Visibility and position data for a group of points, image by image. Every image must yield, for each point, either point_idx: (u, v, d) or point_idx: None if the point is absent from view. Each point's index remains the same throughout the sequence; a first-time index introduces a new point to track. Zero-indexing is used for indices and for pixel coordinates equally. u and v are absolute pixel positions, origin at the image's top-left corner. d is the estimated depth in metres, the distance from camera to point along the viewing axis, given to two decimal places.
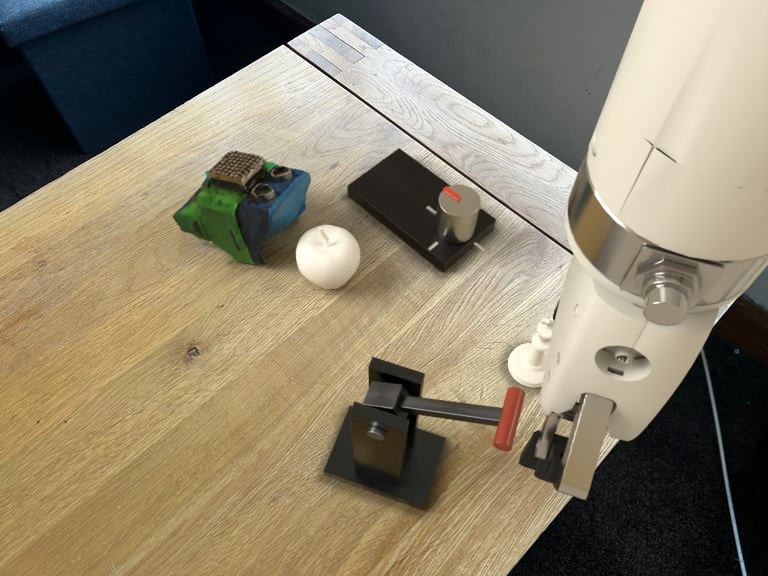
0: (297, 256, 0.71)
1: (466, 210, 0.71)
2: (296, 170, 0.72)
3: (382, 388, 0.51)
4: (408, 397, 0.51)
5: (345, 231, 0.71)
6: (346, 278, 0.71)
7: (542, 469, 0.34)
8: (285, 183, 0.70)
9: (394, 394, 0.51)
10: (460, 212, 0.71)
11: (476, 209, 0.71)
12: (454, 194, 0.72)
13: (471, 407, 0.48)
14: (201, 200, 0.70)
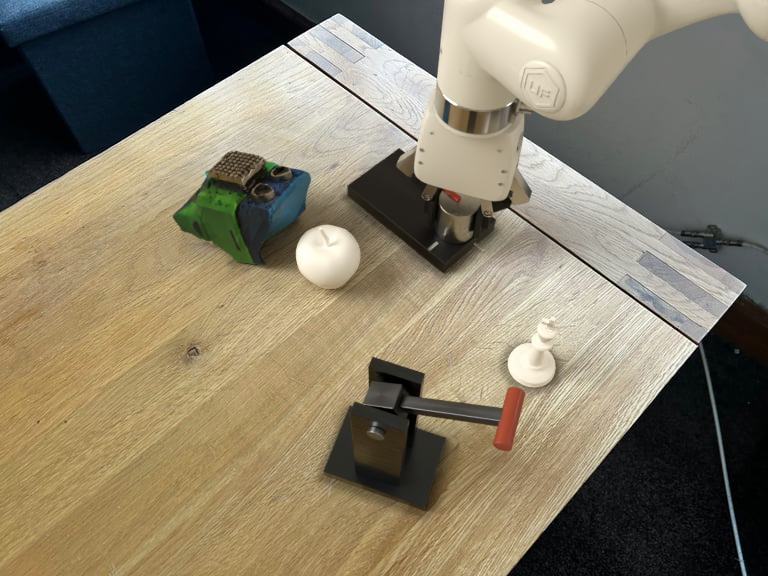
0: (297, 256, 0.71)
1: (466, 210, 0.71)
2: (296, 170, 0.72)
3: (382, 388, 0.51)
4: (408, 397, 0.51)
5: (345, 231, 0.71)
6: (346, 278, 0.71)
7: (489, 221, 0.72)
8: (285, 183, 0.70)
9: (394, 394, 0.51)
10: (460, 212, 0.71)
11: (476, 209, 0.71)
12: (454, 194, 0.72)
13: (471, 407, 0.48)
14: (201, 200, 0.70)
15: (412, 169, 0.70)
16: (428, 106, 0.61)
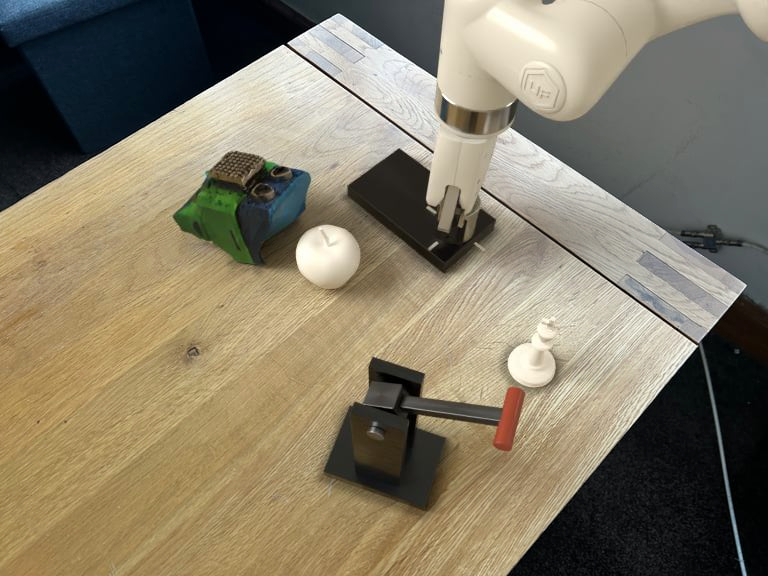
0: (297, 256, 0.71)
1: None
2: (296, 170, 0.72)
3: (382, 388, 0.51)
4: (408, 397, 0.51)
5: (345, 231, 0.71)
6: (346, 278, 0.71)
7: None
8: (285, 183, 0.70)
9: (394, 394, 0.51)
10: None
11: None
12: None
13: (471, 407, 0.48)
14: (201, 200, 0.70)
15: (453, 219, 0.66)
16: (473, 143, 0.59)
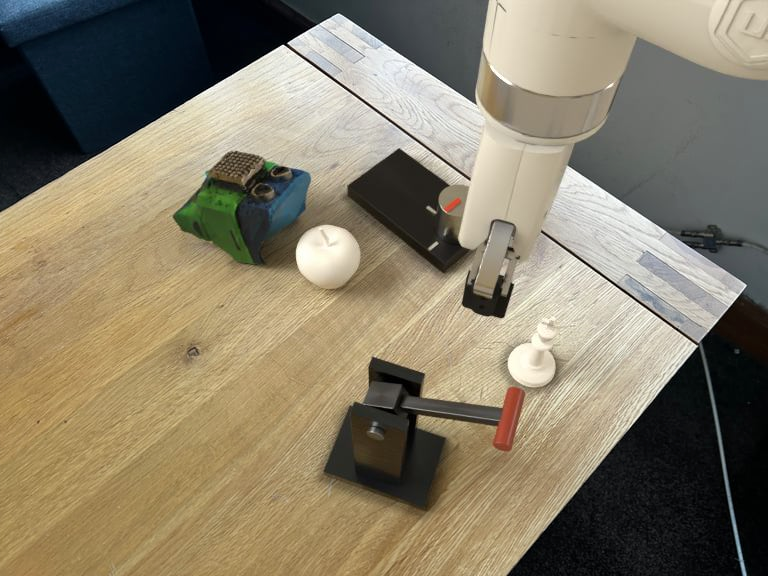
0: (297, 256, 0.71)
1: None
2: (296, 170, 0.72)
3: (382, 388, 0.51)
4: (408, 397, 0.51)
5: (345, 231, 0.71)
6: (346, 278, 0.71)
7: None
8: (285, 183, 0.70)
9: (394, 394, 0.51)
10: None
11: None
12: (455, 202, 0.72)
13: (471, 407, 0.48)
14: (201, 200, 0.70)
15: None
16: (542, 153, 0.35)
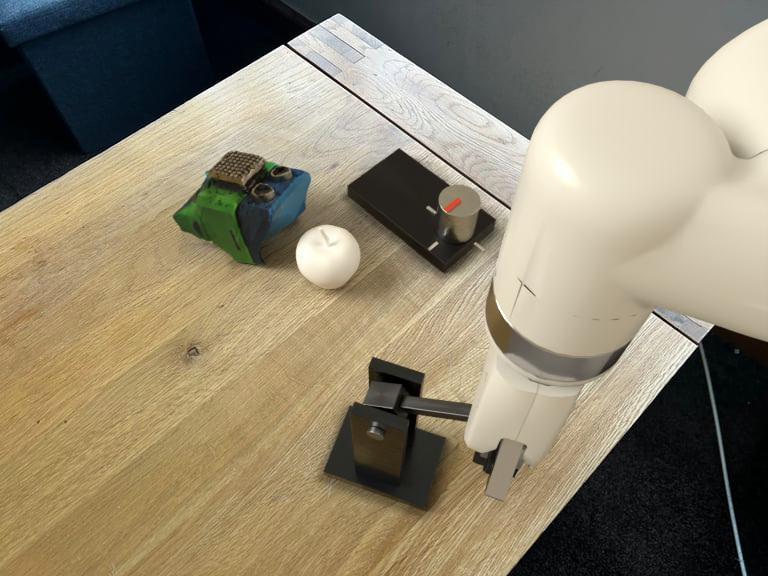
0: (297, 256, 0.71)
1: (472, 196, 0.72)
2: (296, 170, 0.72)
3: (382, 388, 0.51)
4: (408, 397, 0.51)
5: (345, 231, 0.71)
6: (346, 278, 0.71)
7: None
8: (285, 183, 0.70)
9: (394, 394, 0.51)
10: (475, 200, 0.72)
11: (470, 188, 0.73)
12: (455, 202, 0.72)
13: None
14: (201, 200, 0.70)
15: None
16: (557, 396, 0.33)
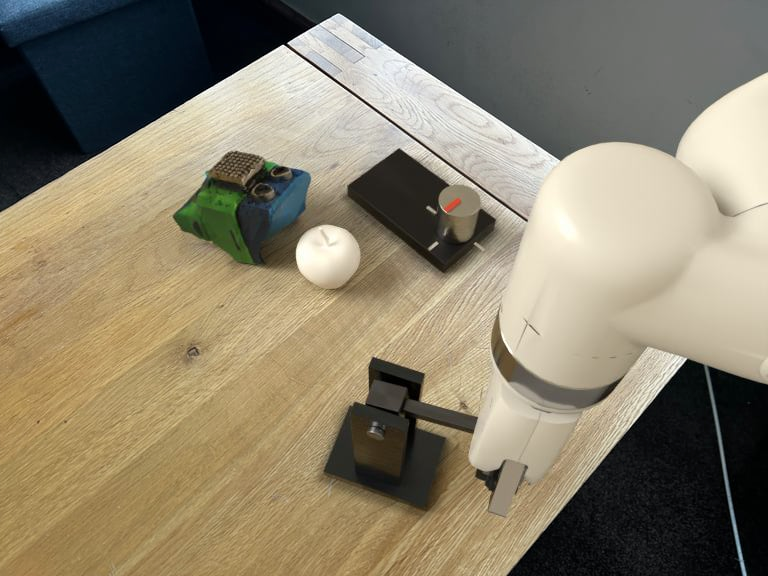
0: (297, 256, 0.71)
1: (472, 196, 0.72)
2: (296, 170, 0.72)
3: (386, 389, 0.51)
4: (411, 401, 0.51)
5: (345, 231, 0.71)
6: (346, 278, 0.71)
7: None
8: (285, 183, 0.70)
9: (399, 397, 0.51)
10: (475, 200, 0.72)
11: (470, 188, 0.73)
12: (455, 202, 0.72)
13: None
14: (201, 200, 0.70)
15: None
16: (558, 423, 0.35)
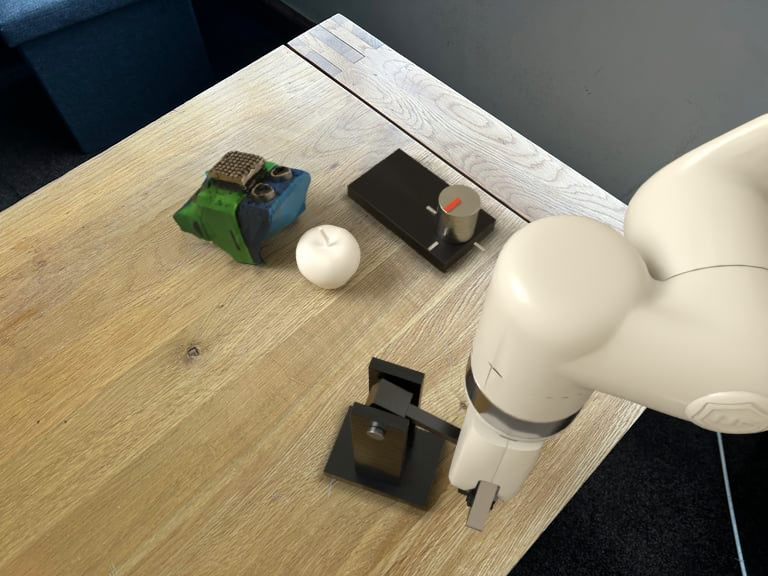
0: (297, 256, 0.71)
1: (472, 196, 0.72)
2: (296, 170, 0.72)
3: (393, 391, 0.51)
4: (413, 406, 0.52)
5: (345, 231, 0.71)
6: (346, 278, 0.71)
7: None
8: (285, 183, 0.70)
9: (406, 402, 0.51)
10: (475, 200, 0.72)
11: (470, 188, 0.73)
12: (455, 202, 0.72)
13: None
14: (201, 200, 0.70)
15: None
16: (523, 450, 0.40)
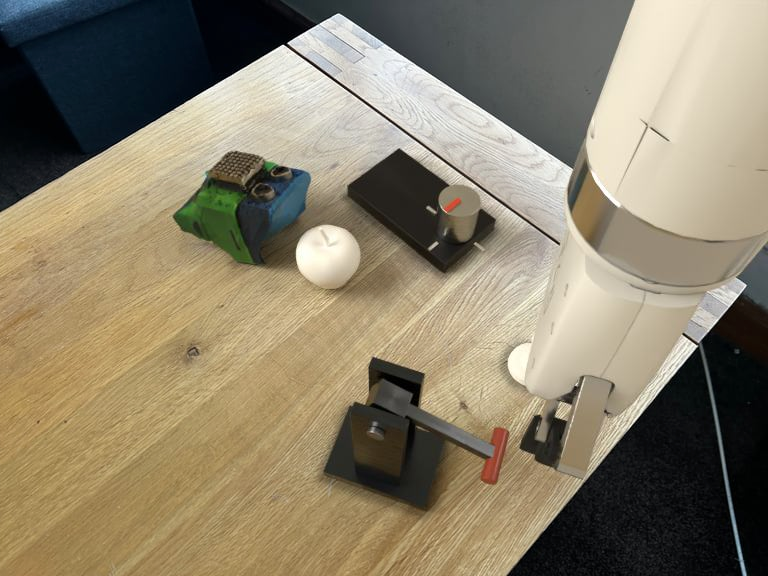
0: (297, 256, 0.71)
1: (472, 196, 0.72)
2: (296, 170, 0.72)
3: (394, 391, 0.51)
4: (413, 406, 0.52)
5: (345, 231, 0.71)
6: (346, 278, 0.71)
7: None
8: (285, 183, 0.70)
9: (406, 402, 0.51)
10: (475, 200, 0.72)
11: (470, 188, 0.73)
12: (455, 202, 0.72)
13: (469, 437, 0.53)
14: (201, 200, 0.70)
15: None
16: (671, 307, 0.24)
